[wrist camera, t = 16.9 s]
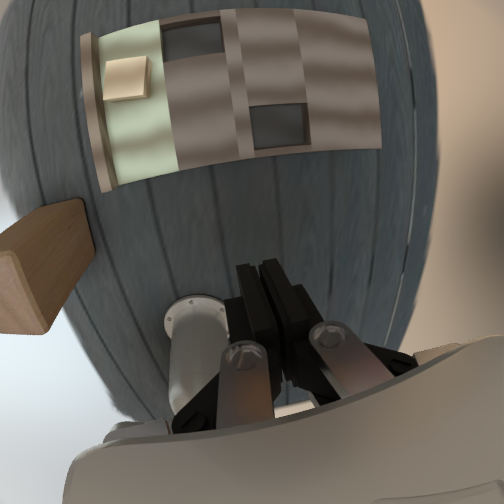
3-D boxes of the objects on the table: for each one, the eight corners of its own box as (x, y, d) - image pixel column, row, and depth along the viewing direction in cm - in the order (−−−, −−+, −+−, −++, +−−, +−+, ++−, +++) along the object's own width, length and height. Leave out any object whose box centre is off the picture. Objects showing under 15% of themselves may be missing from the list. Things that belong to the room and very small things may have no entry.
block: (52, 261, 37) (-5, 336, 20) (36, 206, 33) (-39, 263, 15) (98, 254, 39) (48, 339, 21) (84, 195, 34) (9, 253, 17)
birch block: (149, 98, 28) (143, 94, 25) (113, 102, 27) (102, 100, 24) (152, 63, 26) (146, 55, 22) (115, 67, 25) (106, 61, 22)
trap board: (371, 146, 39) (393, 150, 33) (115, 183, 35) (101, 193, 29) (356, 24, 29) (376, 14, 23) (95, 46, 25) (80, 36, 19)
